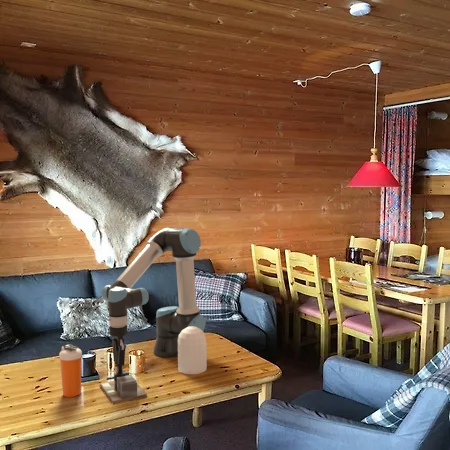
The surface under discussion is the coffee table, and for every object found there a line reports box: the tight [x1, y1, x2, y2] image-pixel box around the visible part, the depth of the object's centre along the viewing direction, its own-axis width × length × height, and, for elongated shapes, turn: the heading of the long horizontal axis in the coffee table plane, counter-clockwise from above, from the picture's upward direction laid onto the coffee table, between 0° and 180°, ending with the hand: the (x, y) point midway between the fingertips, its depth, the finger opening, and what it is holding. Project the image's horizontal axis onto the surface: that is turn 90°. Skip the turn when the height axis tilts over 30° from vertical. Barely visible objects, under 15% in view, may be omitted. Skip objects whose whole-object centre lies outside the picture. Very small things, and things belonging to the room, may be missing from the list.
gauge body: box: [99, 374, 148, 405], centre depth 210 cm, size 20×14×7 cm
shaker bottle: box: [58, 343, 83, 398], centre depth 208 cm, size 9×9×20 cm
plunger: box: [106, 370, 130, 389], centre depth 207 cm, size 9×9×6 cm
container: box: [177, 326, 208, 375], centre depth 235 cm, size 14×13×20 cm
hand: (119, 380), depth 213 cm, fingers closed
